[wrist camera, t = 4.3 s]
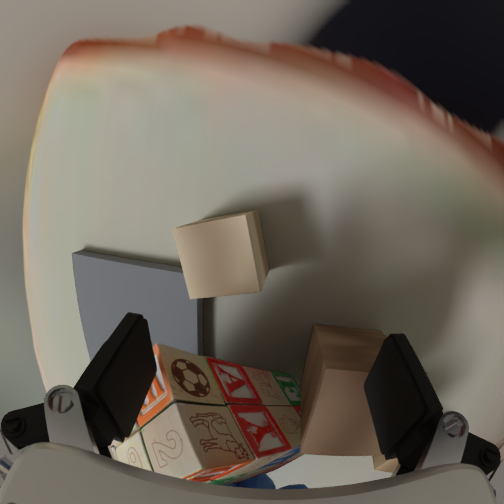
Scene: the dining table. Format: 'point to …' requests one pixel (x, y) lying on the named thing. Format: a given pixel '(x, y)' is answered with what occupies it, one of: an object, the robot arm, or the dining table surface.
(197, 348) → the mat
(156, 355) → the stack of blocks
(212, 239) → the maple cube
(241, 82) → the dining table surface
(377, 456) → the oak cube
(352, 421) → the walnut block
